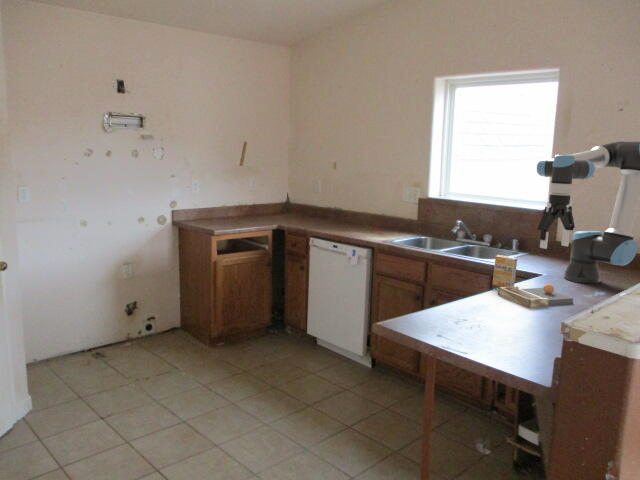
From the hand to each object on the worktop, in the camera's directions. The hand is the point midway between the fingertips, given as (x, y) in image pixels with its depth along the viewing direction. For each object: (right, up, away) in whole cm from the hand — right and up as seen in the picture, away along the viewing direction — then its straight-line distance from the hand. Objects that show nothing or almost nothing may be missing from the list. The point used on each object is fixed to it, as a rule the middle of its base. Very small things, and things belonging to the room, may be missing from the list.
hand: (554, 247), depth 212 cm
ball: (-2, -19, 0) cm, 19 cm away
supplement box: (-15, -17, +17) cm, 28 cm away
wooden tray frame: (-14, -21, -4) cm, 26 cm away
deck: (-4, -21, 0) cm, 21 cm away
